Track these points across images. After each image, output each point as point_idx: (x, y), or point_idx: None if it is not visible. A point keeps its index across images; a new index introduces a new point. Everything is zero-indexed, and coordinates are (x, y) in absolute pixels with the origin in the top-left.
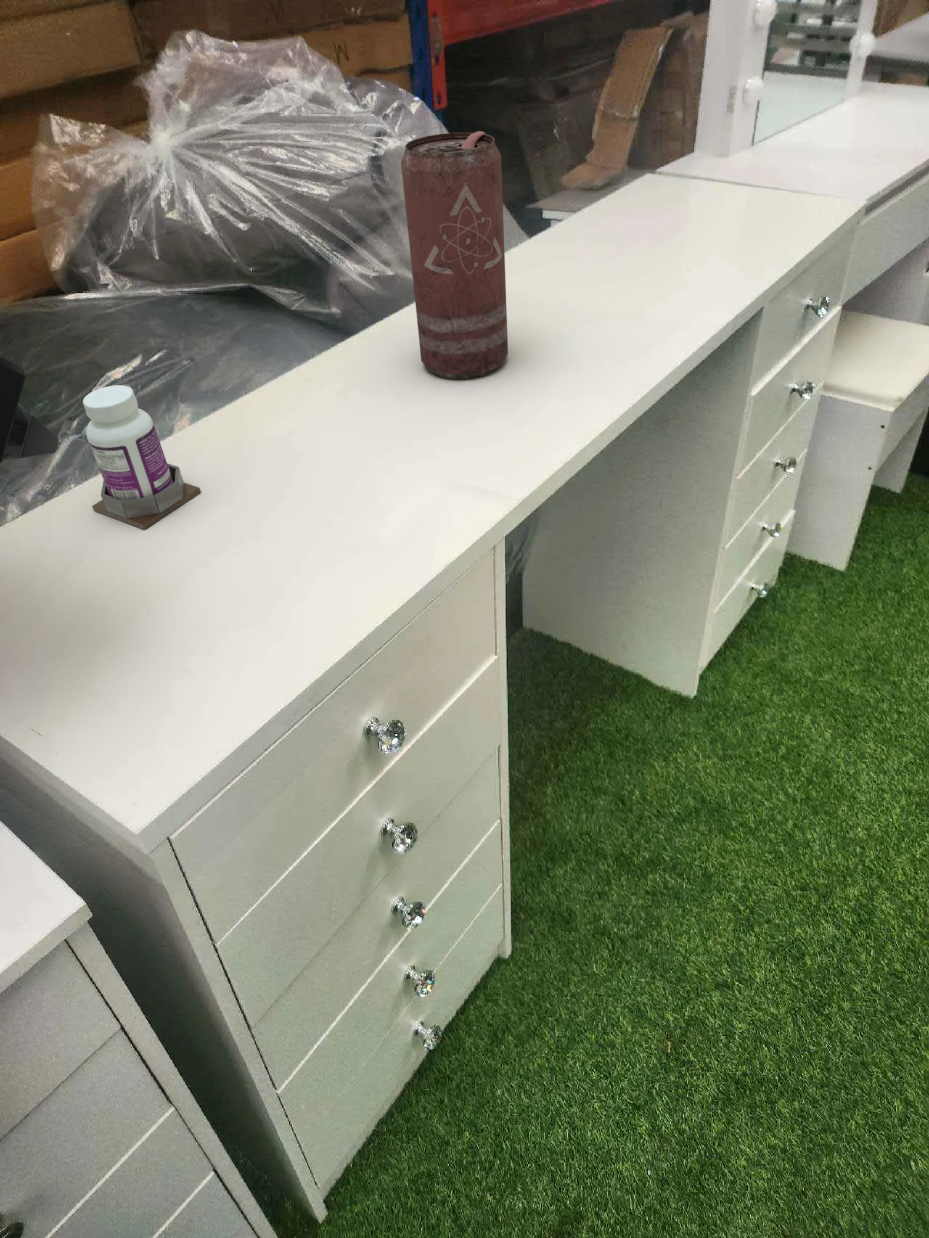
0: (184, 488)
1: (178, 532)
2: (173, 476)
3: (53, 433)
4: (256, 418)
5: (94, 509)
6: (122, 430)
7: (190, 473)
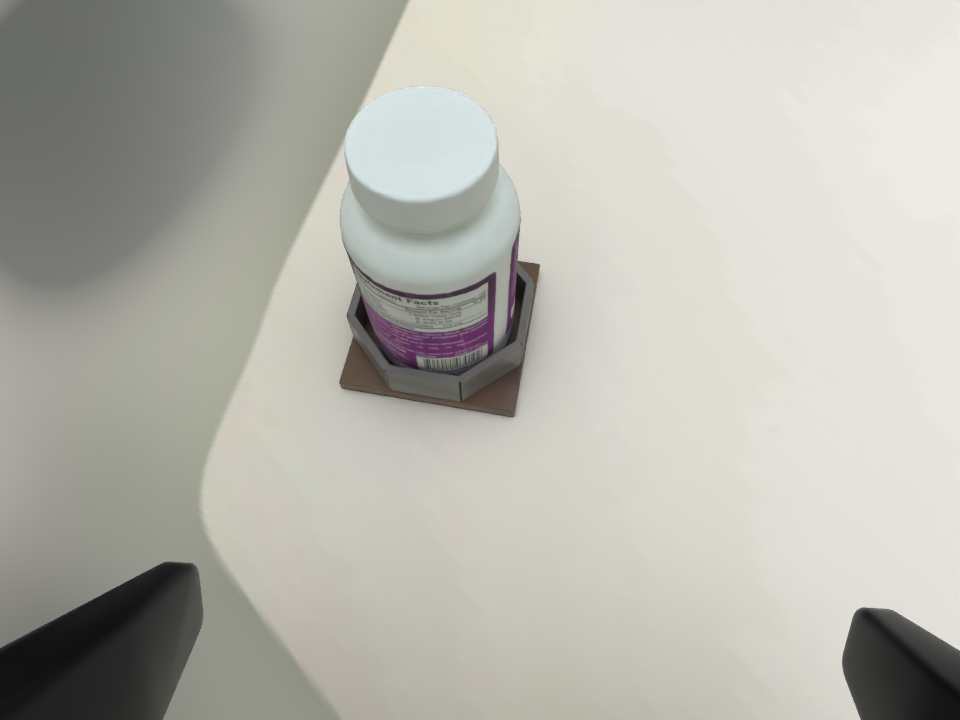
0: None
1: (594, 403)
2: None
3: (934, 636)
4: (470, 46)
5: (347, 387)
6: (490, 235)
7: None
